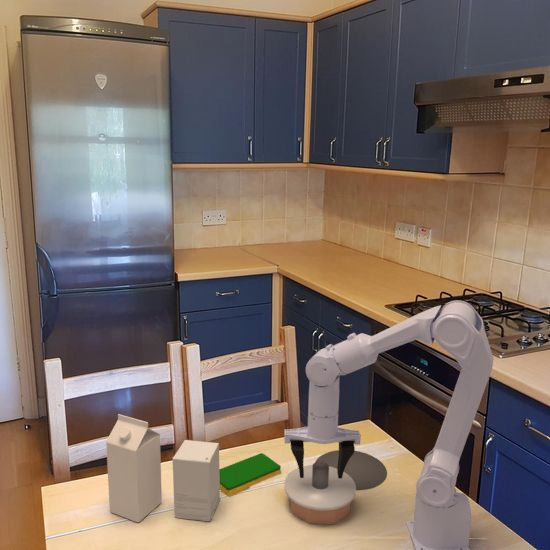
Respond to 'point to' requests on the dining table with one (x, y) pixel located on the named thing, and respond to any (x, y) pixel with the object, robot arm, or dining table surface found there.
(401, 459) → the dining table surface
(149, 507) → the milk carton
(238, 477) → the dish sponge
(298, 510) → the bowl
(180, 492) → the supplement box
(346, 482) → the lid
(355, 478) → the mat
